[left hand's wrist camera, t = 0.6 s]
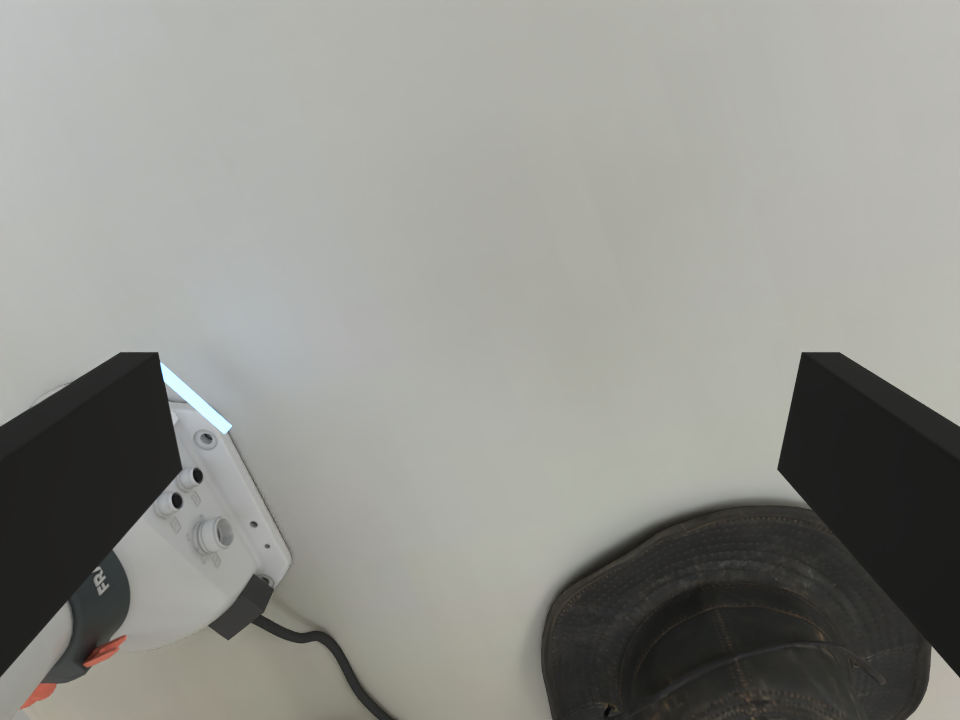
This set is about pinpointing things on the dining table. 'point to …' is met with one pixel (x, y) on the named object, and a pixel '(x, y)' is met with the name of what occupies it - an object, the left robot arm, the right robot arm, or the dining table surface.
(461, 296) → the dining table surface
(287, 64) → the dining table surface
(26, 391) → the dining table surface
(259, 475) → the dining table surface
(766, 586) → the hat
